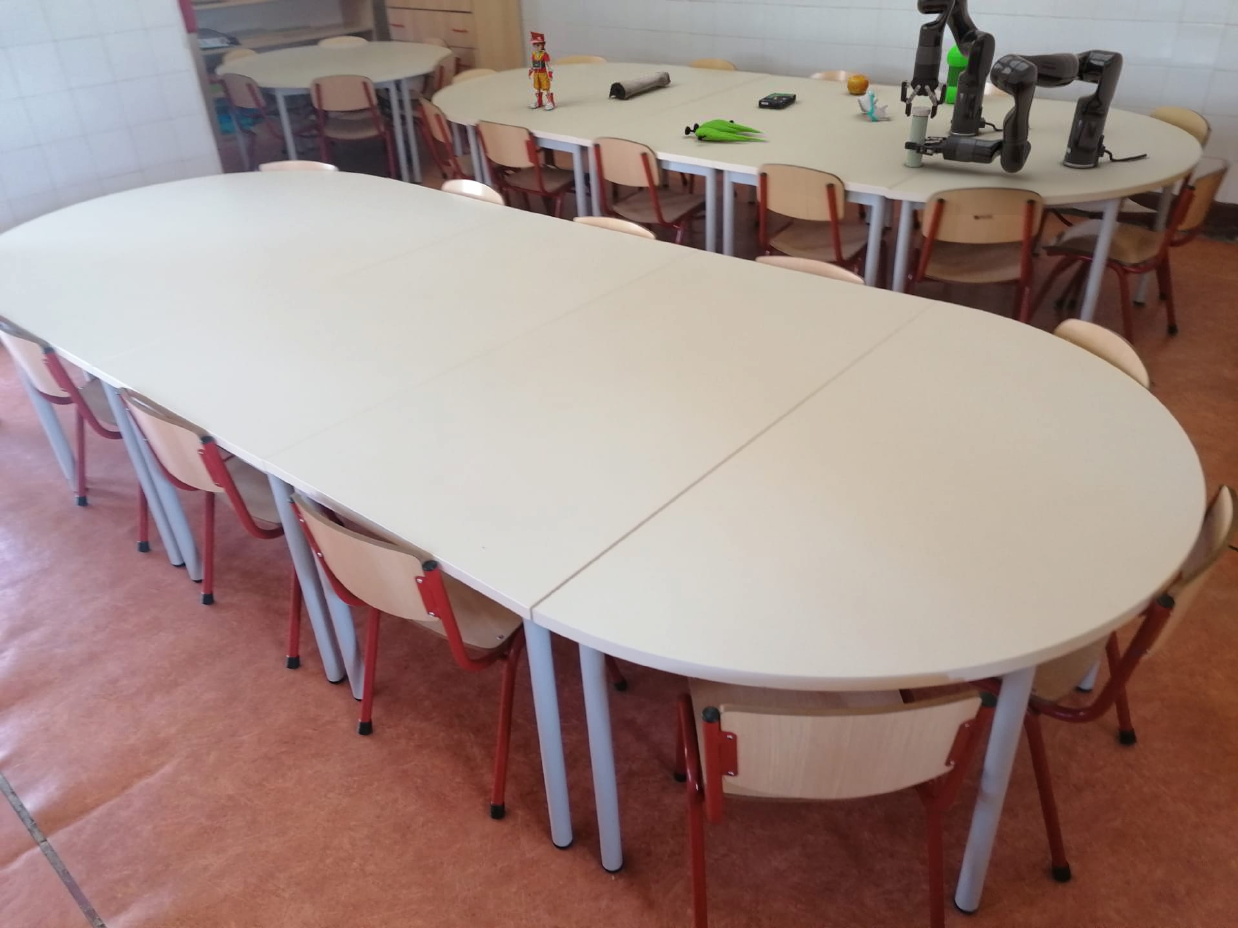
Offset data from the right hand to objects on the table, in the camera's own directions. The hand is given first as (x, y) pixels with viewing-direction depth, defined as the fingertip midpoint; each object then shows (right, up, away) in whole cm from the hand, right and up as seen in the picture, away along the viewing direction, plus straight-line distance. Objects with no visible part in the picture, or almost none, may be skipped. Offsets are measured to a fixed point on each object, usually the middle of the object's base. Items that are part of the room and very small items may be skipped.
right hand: (908, 143), depth 290 cm
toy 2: (-53, +16, +40) cm, 69 cm away
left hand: (+2, +6, -6) cm, 9 cm away
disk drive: (-29, +43, +77) cm, 93 cm away
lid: (+2, +8, -7) cm, 11 cm away
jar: (+2, -6, +3) cm, 7 cm away
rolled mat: (-84, +61, +107) cm, 149 cm away
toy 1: (-126, +49, +93) cm, 164 cm away
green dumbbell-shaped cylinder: (+39, +40, +65) cm, 86 cm away
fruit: (+6, +51, +85) cm, 99 cm away
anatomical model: (+3, +29, +53) cm, 61 cm away
